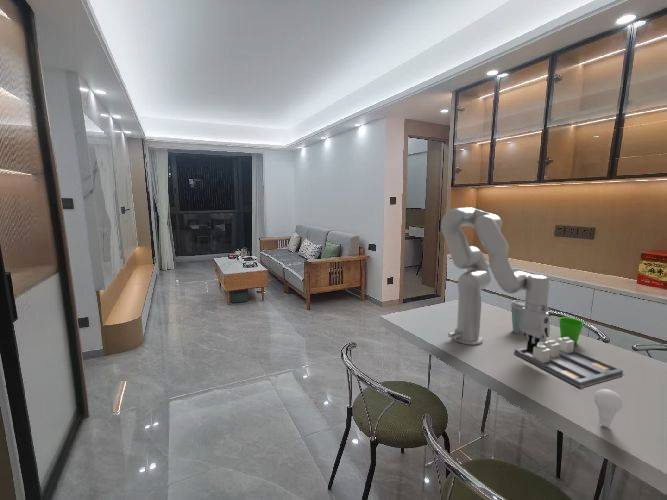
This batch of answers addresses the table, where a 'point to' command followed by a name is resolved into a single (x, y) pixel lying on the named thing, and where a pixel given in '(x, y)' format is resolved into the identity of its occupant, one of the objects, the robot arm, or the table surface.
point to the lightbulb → (607, 405)
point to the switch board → (573, 367)
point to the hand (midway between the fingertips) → (531, 351)
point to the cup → (570, 328)
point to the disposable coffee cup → (517, 314)
